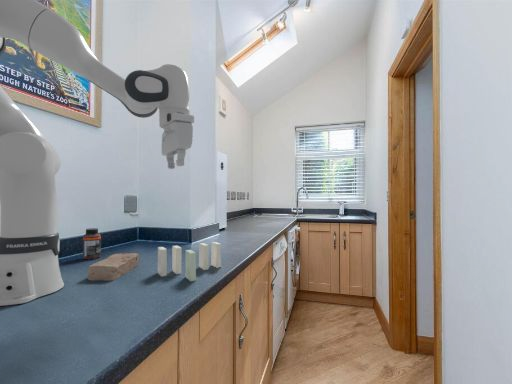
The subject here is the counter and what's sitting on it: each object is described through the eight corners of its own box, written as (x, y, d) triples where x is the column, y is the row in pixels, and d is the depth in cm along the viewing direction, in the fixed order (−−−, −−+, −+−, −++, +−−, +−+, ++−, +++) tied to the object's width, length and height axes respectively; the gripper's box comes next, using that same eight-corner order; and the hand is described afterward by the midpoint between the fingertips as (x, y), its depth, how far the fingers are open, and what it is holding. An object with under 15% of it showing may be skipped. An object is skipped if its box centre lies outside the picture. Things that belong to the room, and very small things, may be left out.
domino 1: (161, 276, 81) (161, 249, 82) (157, 272, 85) (157, 247, 85) (166, 275, 82) (166, 249, 82) (162, 272, 86) (163, 246, 86)
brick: (115, 281, 78) (115, 264, 78) (85, 281, 78) (86, 264, 78) (139, 266, 94) (139, 252, 94) (115, 266, 94) (115, 252, 94)
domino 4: (216, 268, 91) (216, 244, 91) (211, 265, 95) (211, 242, 95) (221, 267, 92) (221, 243, 92) (215, 264, 96) (215, 241, 96)
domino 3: (203, 270, 89) (204, 245, 89) (198, 266, 93) (199, 243, 93) (208, 269, 89) (208, 245, 90) (203, 266, 93) (203, 242, 93)
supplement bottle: (86, 256, 107) (86, 227, 107) (103, 255, 108) (103, 227, 109) (79, 260, 101) (80, 229, 101) (97, 259, 103) (97, 229, 103)
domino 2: (176, 274, 84) (176, 248, 84) (172, 270, 88) (172, 245, 88) (181, 273, 85) (181, 247, 85) (177, 270, 89) (177, 245, 89)
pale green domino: (190, 281, 77) (190, 253, 77) (185, 277, 81) (185, 250, 81) (195, 280, 78) (195, 252, 78) (190, 276, 82) (190, 249, 82)
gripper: (156, 127, 90) (157, 169, 90) (173, 111, 72) (174, 163, 72) (175, 129, 93) (176, 170, 93) (196, 115, 76) (197, 164, 76)
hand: (175, 167), depth 82 cm, fingers open, 8 cm apart
